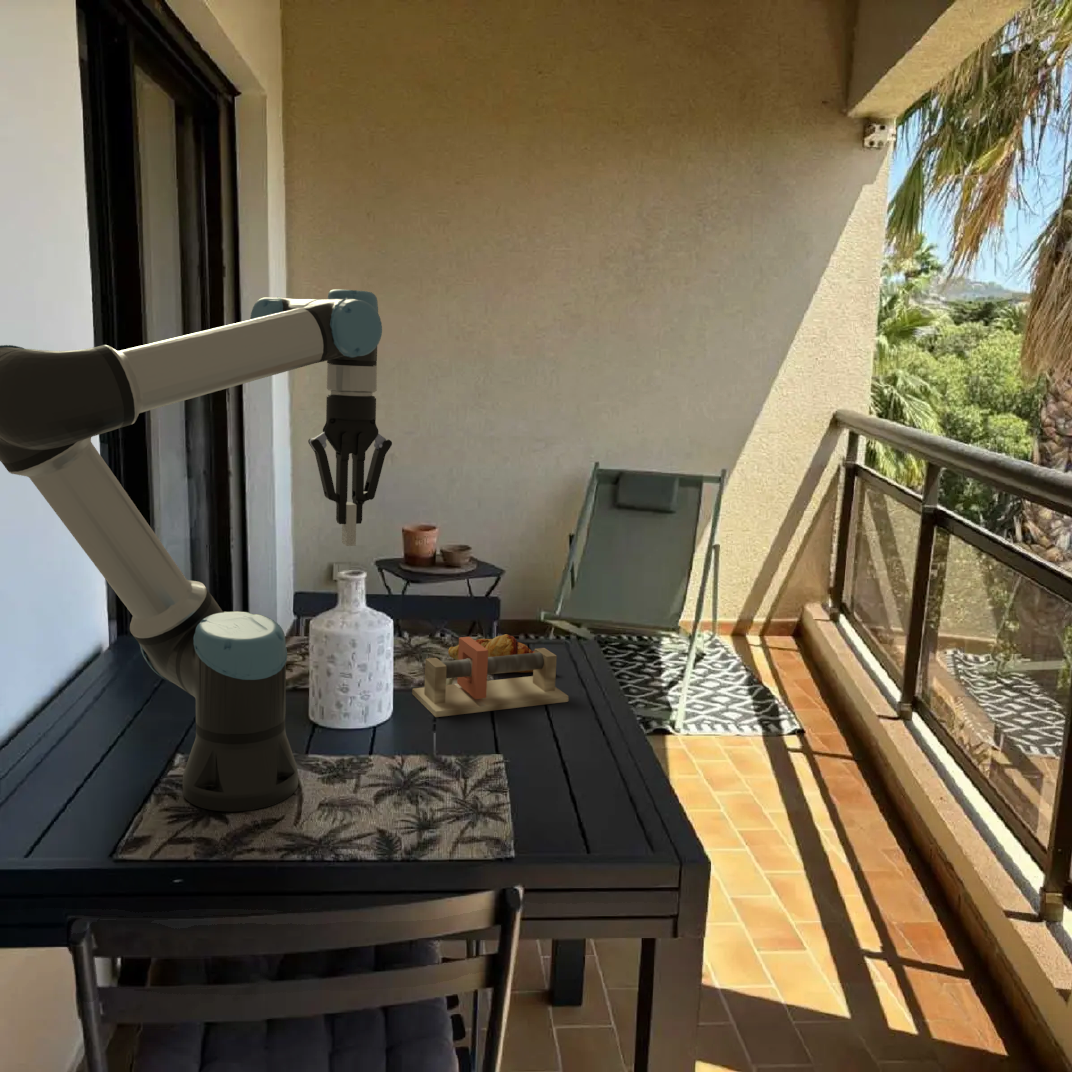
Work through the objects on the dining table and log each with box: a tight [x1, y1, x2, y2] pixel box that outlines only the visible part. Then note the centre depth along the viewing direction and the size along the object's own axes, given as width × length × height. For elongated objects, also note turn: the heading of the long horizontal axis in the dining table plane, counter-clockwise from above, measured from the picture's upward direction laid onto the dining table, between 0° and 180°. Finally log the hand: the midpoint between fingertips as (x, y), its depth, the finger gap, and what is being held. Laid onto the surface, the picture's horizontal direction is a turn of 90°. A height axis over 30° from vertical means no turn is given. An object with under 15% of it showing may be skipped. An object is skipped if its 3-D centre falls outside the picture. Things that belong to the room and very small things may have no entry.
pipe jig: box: [411, 647, 569, 718], centre depth 178 cm, size 25×12×8 cm, turn 116°
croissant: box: [447, 633, 534, 674], centre depth 196 cm, size 21×10×8 cm, turn 75°
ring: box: [456, 636, 488, 699], centre depth 176 cm, size 2×8×8 cm, turn 26°
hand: (348, 544), depth 159 cm, fingers closed
